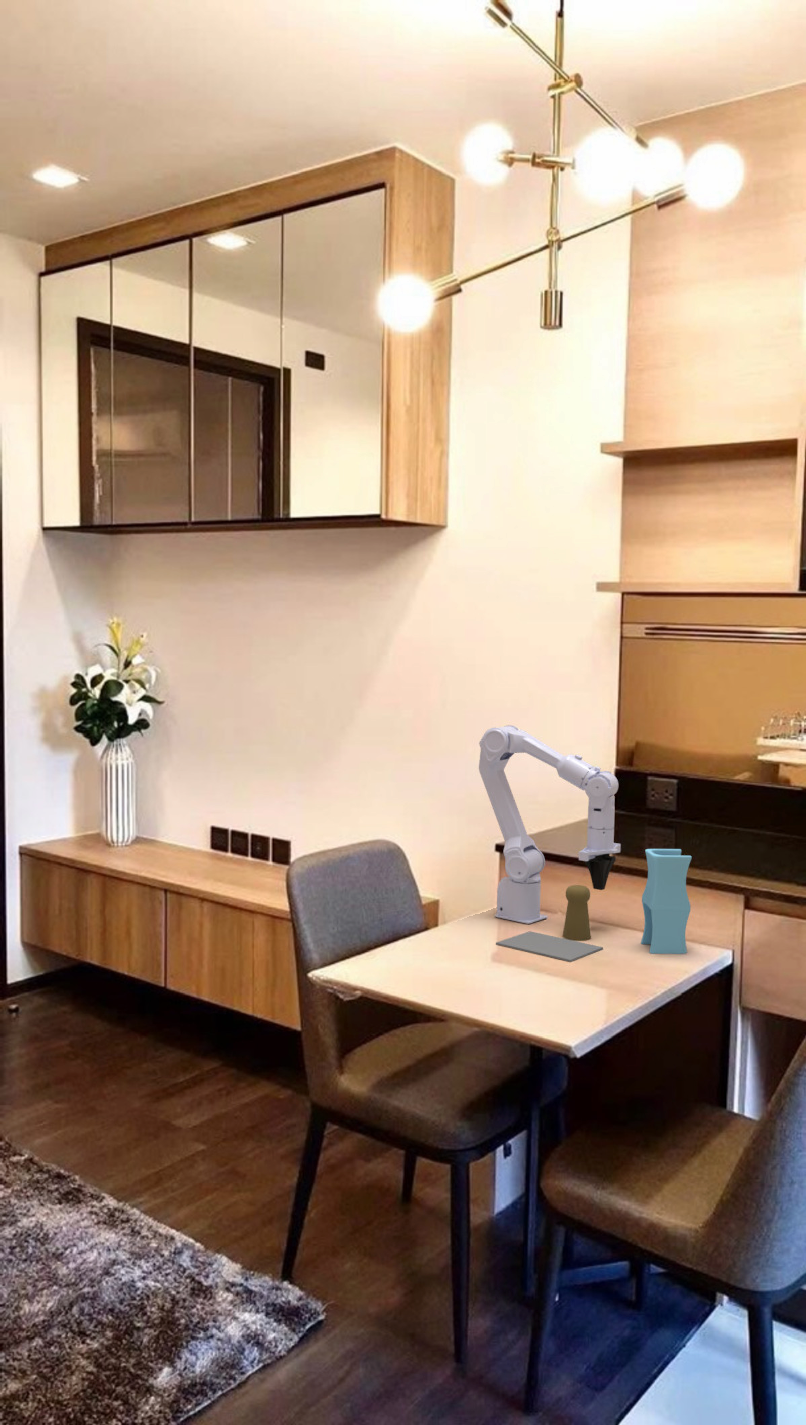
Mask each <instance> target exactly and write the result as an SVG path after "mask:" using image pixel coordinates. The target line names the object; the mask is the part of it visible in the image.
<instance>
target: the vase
mask: <svg viewBox="0 0 806 1425" xmlns="http://www.w3.org/2000/svg"><path fill="white" fill-rule="evenodd" d="M645 856H646V863H647V879H646V880H647V881H646V884H645V888H644V890H643V893H642V896H641V902H642V909H643V916H644V928H643V934H642V937H641V940H640V944H641V945H650V947H649V948H650V949H649V954H650V955H651V954H652V955H653V954H654V955H655V954H656V955H657V954H660V955H663V954H664V955H665V954H666V955H667V954H668V955H671V954H672V955H673V954H675V955H683V954H684V955H685V954H687V953H688V950H687V943H686V929H687V924H688V920H689V916H690V913H691V909H692V908H691V907H692V906H691V903H690V899H689V896H688V891H687V890H688V889H687V876H688V874H687V873H688V871H689V870H688V869H689V867H690V863H691V861H692V856H691V855H682V849H681V848H647V849H645Z"/></svg>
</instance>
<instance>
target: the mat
mask: <svg viewBox="0 0 806 1425" xmlns="http://www.w3.org/2000/svg"><path fill="white" fill-rule="evenodd" d="M495 945H496V946H501V947H505V948H510V949H513V950H519V951H523V952H525V953H526V952H527V953H531V954H534V955H535V954H536V955H539V956H544V957H548V958H552V959H556V960H560V961H565V962H569V963H571V962H574V961H577V960H579V959H583V958H584V957H587V956H590V955H592V954H594V953H597V952H600V951H602V950H604V946H603V947H602V946H599V945H594V944H592V943H591V944H590V943H585V942H581V941H576V940H569V939H566V938H564V937H563V938H562V937H559V936H553V935H549V934H544V933H541V932H535V931H531V930H530V931H526V932H523V933H520V934H517V935H514V936H512V937H508V938H504V939H502V940H499V941H496V942H495Z"/></svg>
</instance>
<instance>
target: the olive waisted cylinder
mask: <svg viewBox="0 0 806 1425" xmlns="http://www.w3.org/2000/svg"><path fill="white" fill-rule="evenodd" d="M590 898H591V891H590V889H589V888H588V887H587V886H585V885H581V884H574V885H569V886H568V887H567V888H566V890H565V899H566V900H567V907H566V912H565V920H564V925H563V931H562V937H563V939H568V940H572V941H577V942H581V941H582V942H583V941H589V940H591V939H592V935H591V924H590V914H589V905H588V904H589V903H588V901H589V900H590Z"/></svg>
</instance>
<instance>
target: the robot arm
mask: <svg viewBox="0 0 806 1425" xmlns="http://www.w3.org/2000/svg"><path fill="white" fill-rule="evenodd" d="M478 744H479V747H480V753H479V761H478V762H479V763H478V771H479V774H480V777H481V779H482V782H483V785H484V788H485V791H486V793H487V797H488V799H489V801H490V804H491V808H492V810H493V813H494V815H495V818H496V821H497V823H498V826H499V828H500V829H499V830H500V832H501V834H502V837H503V839H504V847H503V856H504V859H505V863H504V870H505V873H506V874H507V876H504V877H502V878H501V879H500V880H499V883H498V885H497V888H496V889H497V890H496V894H497V895H496V913H495V914H494V917H496V918H498V919H504V920H509V921H513V922H518V923H522V924H528V925H529V924H532V923H535V922H539V921H542V920H545V919H548V918H549V917H548V915H547V914H541V891H542V890H541V889H542V888H541V887H542V886H541V884H542V878H541V877H542V876H541V872H542V871H543V870H544V868H545V865H546V859H545V856H544V854H543V852H542V851H541V850H540V849H539V848H538V847H537V845H536V843H535V840H534V839H533V838H532V837H531V836H530V835H529V834H528V832H527V829H526V827H525V825H524V822H523V819H522V815H521V814H520V811H519V808H518V806H517V803H516V800H515V797H514V795H513V791H512V789H511V786H510V784H509V781H508V779H507V776H506V773H505V768H506V767H507V764H508V762H509V761H510V759H511V757H512V756H513V755H514V754H524V753H525V754H527V755H529V756H532V757H533V758H535V759H537V760H539V761H541V762H542V763H545V764H547V765H549V766H550V767H553V768H555V769H556V772H557V774H558V776H559V778H561V779H563V780H564V781H566V782H568V783H570V784H572V785H573V786H575V787H577V788H579V789H580V790H582V791H585V794H586V796H587V797H588V805H587V830H586V831H587V832H586V833H587V834H586V838H587V839H586V846H585V847H584V848H583V849H581V850H580V851H578V861H583V862H584V863H585V864H586V867H587V869H588V871H589V874H590V879H591V883H592V888H593V889H594V890H599V891H604V890H605V888H606V885H607V883H608V882H607V881H608V878H609V875H610V872H611V870H612V867H613V866H614V864H615V862H616V859H617V858H616V856H612V855H611V854H618V853H619V854H620V853H621V846H622V845H621V843H616V842H614V841H615V840H614V839H615V838H614V837H615V814H616V813H615V812H616V811H615V798H616V797H615V794H617V792H618V790H619V781H618V779H617V777H616V776H615V775H614V774H613V773H612V772H611V771H608V770H603V771H601V767H600V766H593V765H592V764H590V763H588V762H586V761H585V760H583V756H582V755H580V754H575V755H574V754H573V753H571V754H568V755H563V754H562V753H560V752H558V751H557V750H555V749H554V748H552V747H550V746H549V745H548V744H545V743H544V742H543V741H541V740H540V739H537V738H536V737H535V736H533V735H531V733H528V732H527V731H525V730H522V729H519V728H518V727H516V726H515V725H510V724H508V725H504V726H501V727H500V726H499V727H496V726H495V727H491V728H489V729H487V730H486V731H485V732H484V734H482V737H481V739H480V741H479V743H478Z"/></svg>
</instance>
